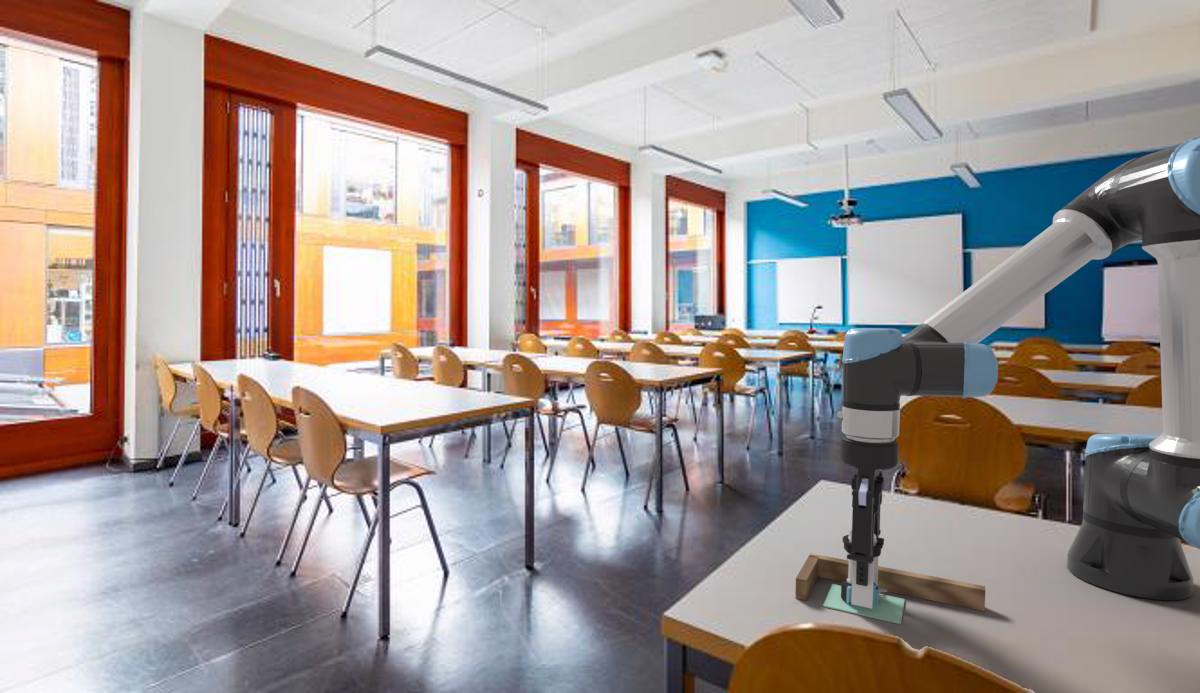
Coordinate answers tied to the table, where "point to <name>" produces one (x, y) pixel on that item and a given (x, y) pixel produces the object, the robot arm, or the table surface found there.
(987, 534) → the table surface
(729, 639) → the table surface
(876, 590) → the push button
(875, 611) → the pad
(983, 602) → the wooden l-shaped wall
